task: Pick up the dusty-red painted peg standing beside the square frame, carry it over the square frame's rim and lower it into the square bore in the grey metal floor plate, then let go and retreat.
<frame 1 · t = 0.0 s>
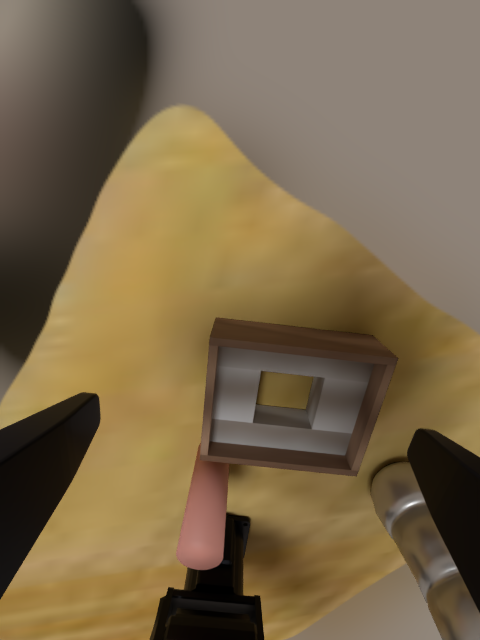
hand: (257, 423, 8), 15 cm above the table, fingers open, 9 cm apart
plastic bottle: (394, 475, 28), on the table
peg: (214, 450, 27), on the table
square frame: (283, 383, 24), on the table
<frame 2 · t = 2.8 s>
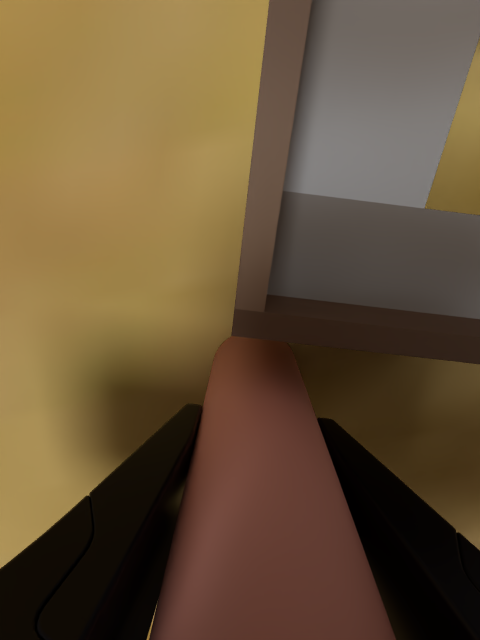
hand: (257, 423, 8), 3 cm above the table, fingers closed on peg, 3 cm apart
peg: (254, 368, 11), on the table, touching gripper
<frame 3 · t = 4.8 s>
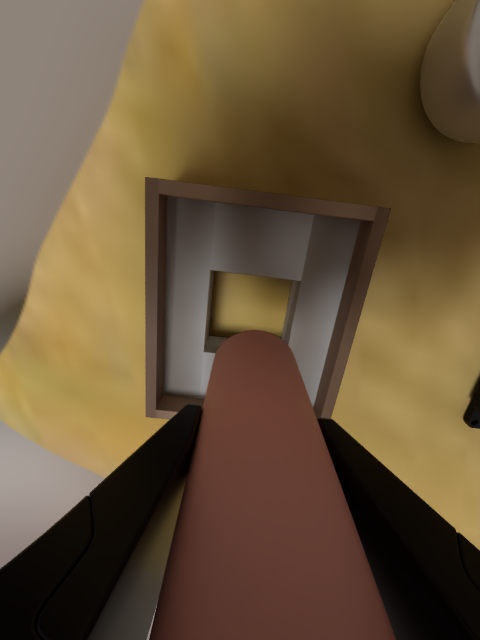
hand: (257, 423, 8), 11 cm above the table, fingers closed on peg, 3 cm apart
plastic bottle: (464, 82, 14), on the table
peg: (254, 368, 10), point 8 cm above the table, touching gripper
square frame: (249, 305, 18), on the table
when the fingers open (4 cm above the table, at t = 6.6 s): peg drops 1 cm, resting in square frame.
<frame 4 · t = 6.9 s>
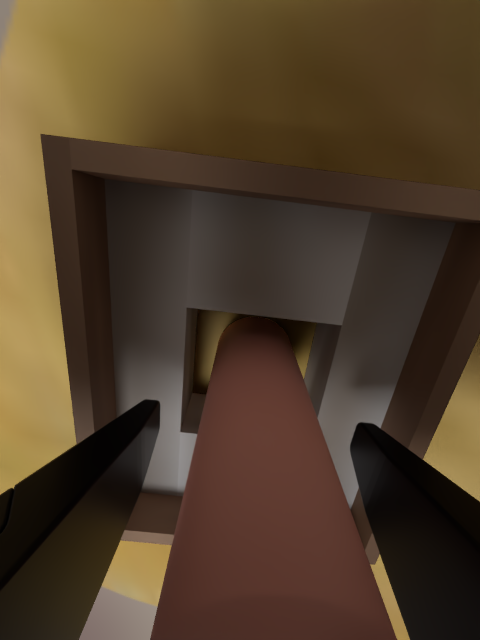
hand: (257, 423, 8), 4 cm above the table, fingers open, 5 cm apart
peg: (254, 351, 12), resting in square frame
square frame: (252, 351, 12), on the table
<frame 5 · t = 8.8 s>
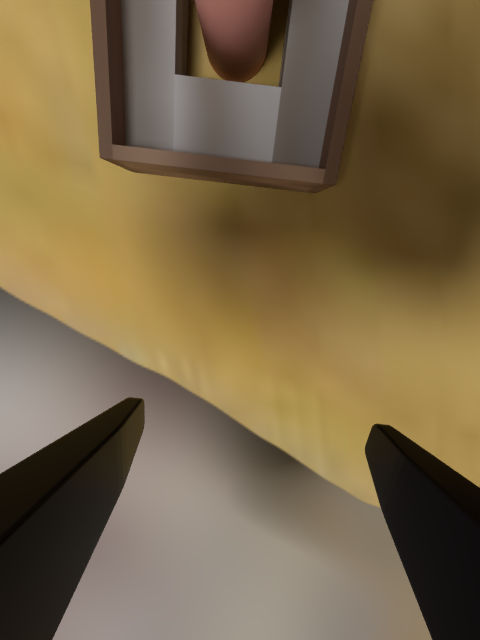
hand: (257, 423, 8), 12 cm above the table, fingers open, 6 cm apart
peg: (236, 44, 14), resting in square frame
square frame: (235, 44, 14), on the table
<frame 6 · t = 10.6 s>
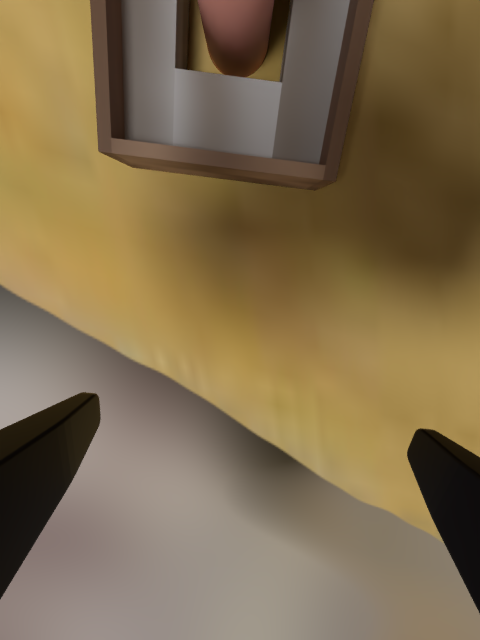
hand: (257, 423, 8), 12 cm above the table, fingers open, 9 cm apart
peg: (237, 40, 14), resting in square frame
square frame: (236, 39, 14), on the table
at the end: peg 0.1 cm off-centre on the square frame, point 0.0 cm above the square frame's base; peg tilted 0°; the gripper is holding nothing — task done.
